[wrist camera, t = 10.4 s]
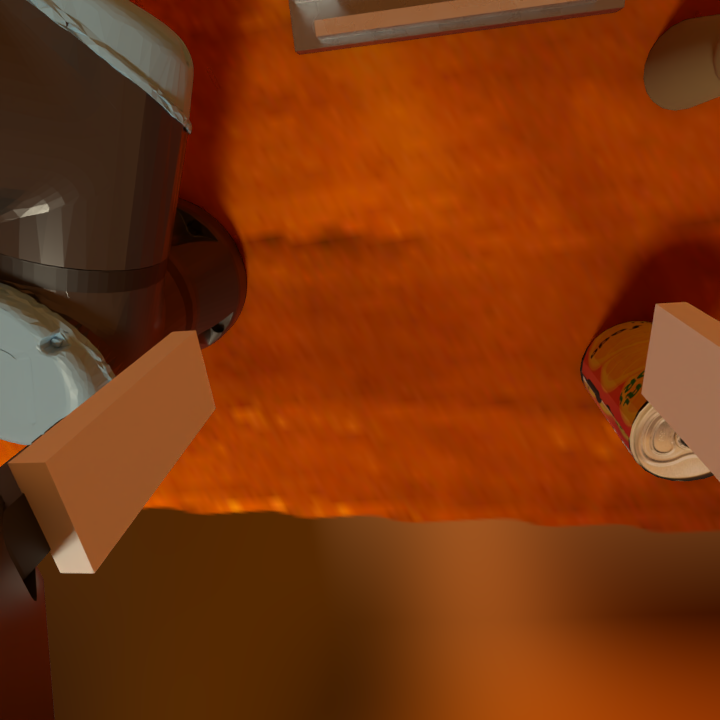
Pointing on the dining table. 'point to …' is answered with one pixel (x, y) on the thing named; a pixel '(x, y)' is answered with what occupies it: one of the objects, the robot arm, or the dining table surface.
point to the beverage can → (635, 403)
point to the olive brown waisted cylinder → (685, 64)
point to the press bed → (421, 18)
